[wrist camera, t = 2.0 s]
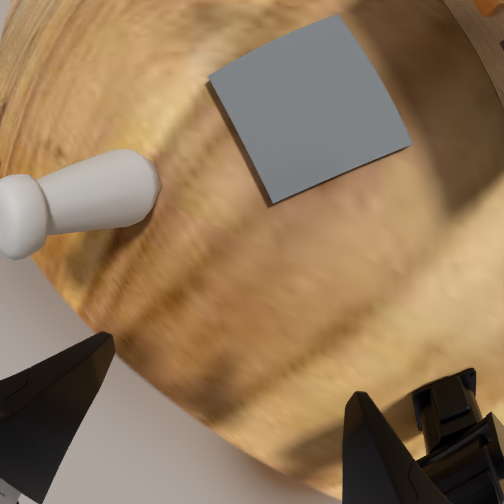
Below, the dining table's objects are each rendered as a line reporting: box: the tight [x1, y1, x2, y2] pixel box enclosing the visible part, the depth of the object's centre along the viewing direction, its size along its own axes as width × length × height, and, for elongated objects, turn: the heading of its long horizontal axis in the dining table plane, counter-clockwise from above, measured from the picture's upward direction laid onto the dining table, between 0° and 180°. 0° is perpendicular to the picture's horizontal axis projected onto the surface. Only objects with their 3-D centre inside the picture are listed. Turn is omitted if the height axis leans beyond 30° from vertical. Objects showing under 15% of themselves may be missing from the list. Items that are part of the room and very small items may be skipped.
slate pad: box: [208, 14, 413, 203], centre depth 16 cm, size 10×10×1 cm
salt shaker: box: [0, 149, 162, 260], centre depth 16 cm, size 6×6×13 cm
